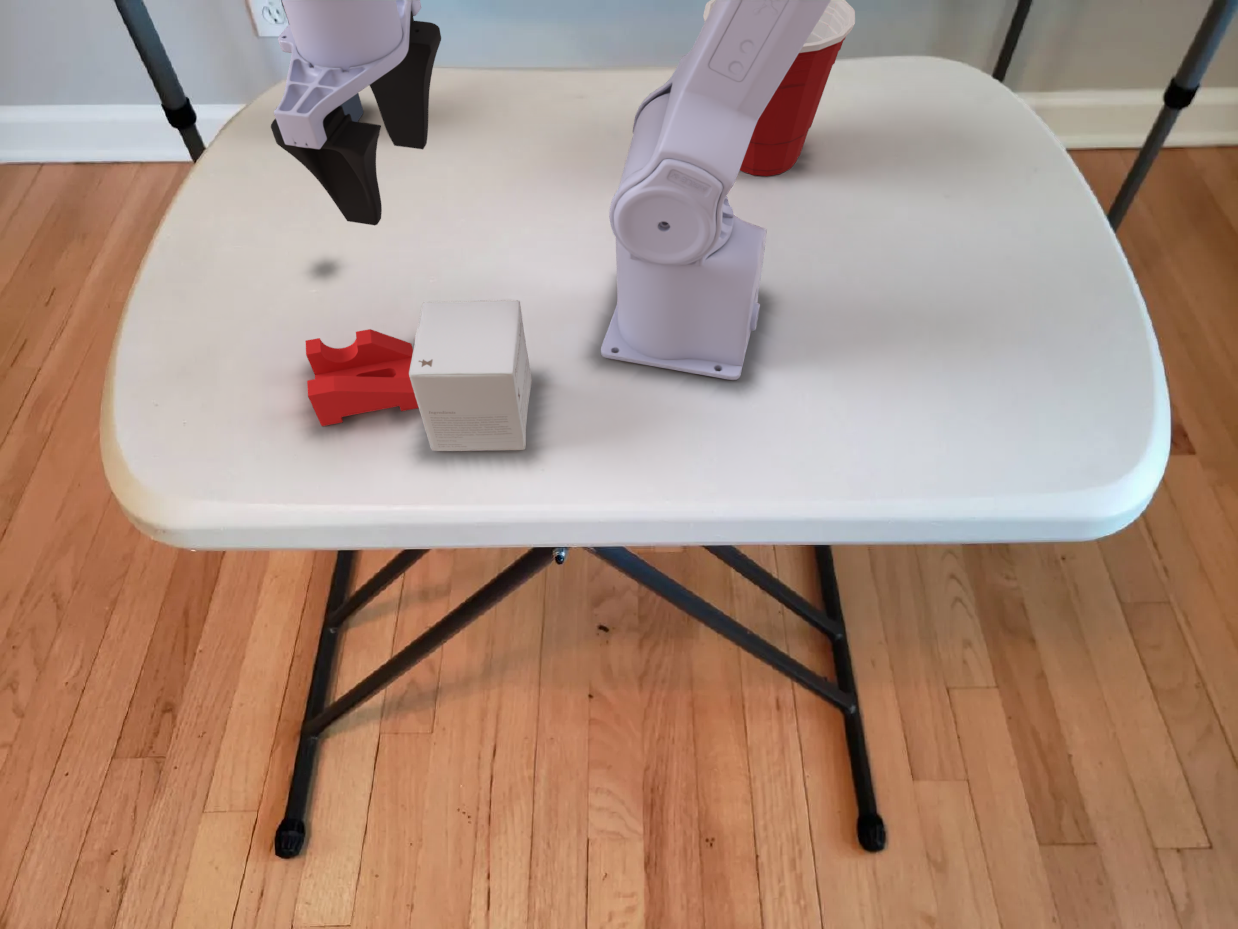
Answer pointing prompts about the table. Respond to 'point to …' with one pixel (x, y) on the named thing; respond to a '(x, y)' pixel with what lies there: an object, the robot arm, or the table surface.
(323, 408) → the bracket
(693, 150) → the robot arm
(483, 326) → the product box
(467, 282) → the table surface
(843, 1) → the plastic cup
